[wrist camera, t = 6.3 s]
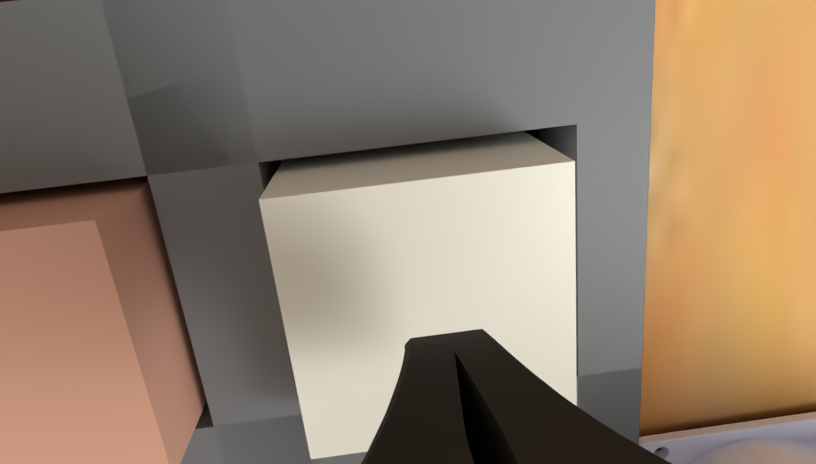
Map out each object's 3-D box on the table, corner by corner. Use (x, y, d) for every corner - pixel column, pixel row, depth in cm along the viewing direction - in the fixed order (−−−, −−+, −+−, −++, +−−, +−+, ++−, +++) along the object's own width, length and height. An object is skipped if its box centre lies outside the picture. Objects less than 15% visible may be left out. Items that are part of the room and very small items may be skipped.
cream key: (519, 128, 15) (575, 161, 11) (527, 333, 17) (576, 421, 13) (285, 156, 14) (258, 199, 11) (322, 361, 16) (310, 459, 13)
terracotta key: (165, 170, 14) (94, 220, 10) (217, 375, 16) (174, 478, 12) (-81, 200, 14) (-244, 261, 10) (2, 404, 16) (-108, 518, 12)
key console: (599, -49, 14) (658, -69, 12) (596, 413, 19) (637, 479, 16) (-221, 40, 14) (-375, 41, 11) (-15, 498, 18) (-83, 583, 15)
